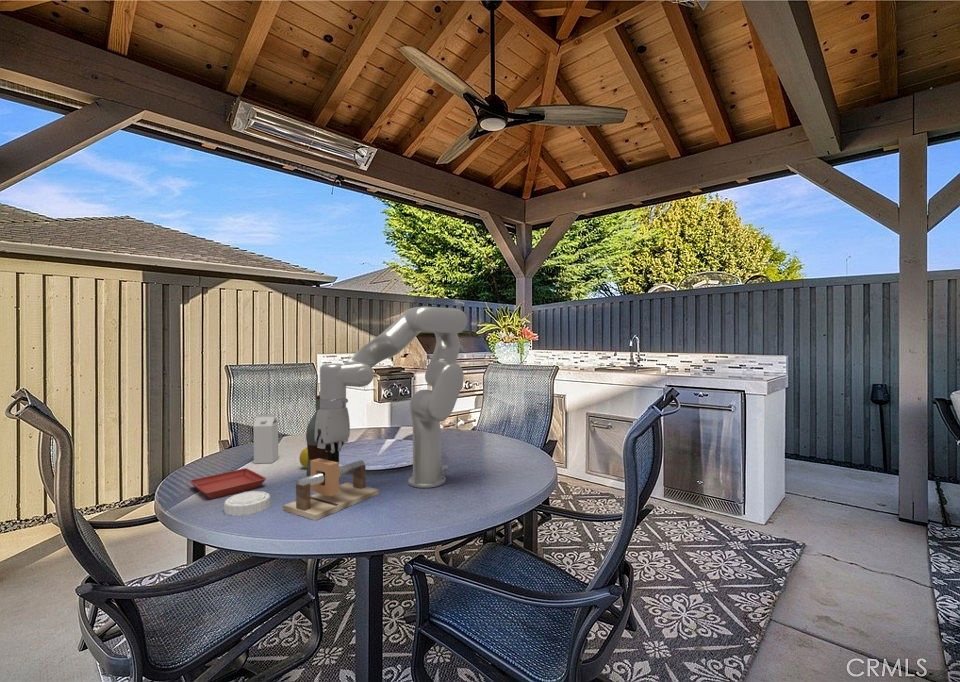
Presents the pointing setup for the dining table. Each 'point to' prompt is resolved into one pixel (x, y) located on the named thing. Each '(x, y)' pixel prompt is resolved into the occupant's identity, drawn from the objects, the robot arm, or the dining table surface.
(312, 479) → the pipe
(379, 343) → the robot arm
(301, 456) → the lemon
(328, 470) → the collar
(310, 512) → the pipe stand
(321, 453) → the bottle
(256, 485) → the plant saucer
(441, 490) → the dining table surface
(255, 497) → the mooncake
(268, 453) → the milk carton
